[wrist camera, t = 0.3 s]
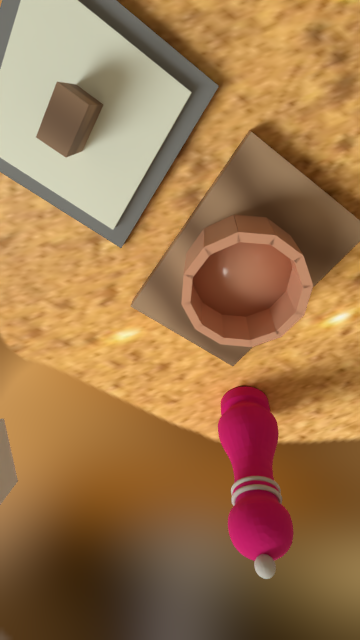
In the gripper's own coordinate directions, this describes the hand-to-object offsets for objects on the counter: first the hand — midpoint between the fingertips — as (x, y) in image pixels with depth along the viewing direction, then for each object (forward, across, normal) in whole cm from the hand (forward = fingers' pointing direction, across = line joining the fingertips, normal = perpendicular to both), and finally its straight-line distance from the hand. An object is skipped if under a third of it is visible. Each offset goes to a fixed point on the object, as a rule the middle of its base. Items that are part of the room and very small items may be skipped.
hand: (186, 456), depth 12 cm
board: (+26, +3, +3) cm, 26 cm away
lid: (+21, -10, +16) cm, 28 cm away
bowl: (+25, +3, +2) cm, 25 cm away
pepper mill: (+31, +4, -16) cm, 36 cm away
